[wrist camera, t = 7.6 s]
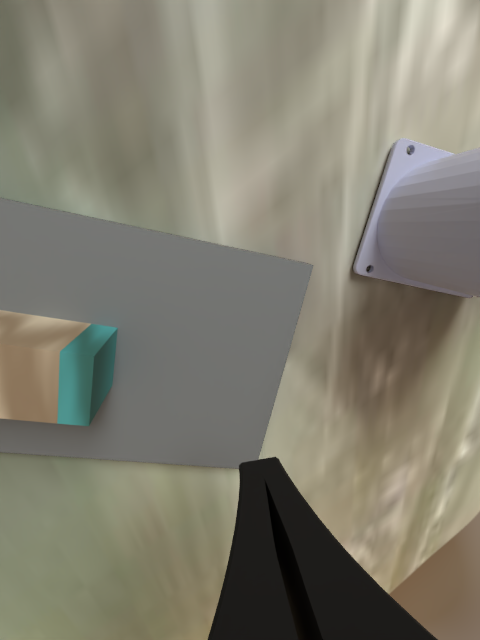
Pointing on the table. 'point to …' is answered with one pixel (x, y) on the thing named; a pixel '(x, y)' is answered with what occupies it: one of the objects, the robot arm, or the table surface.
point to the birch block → (54, 368)
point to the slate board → (155, 335)
